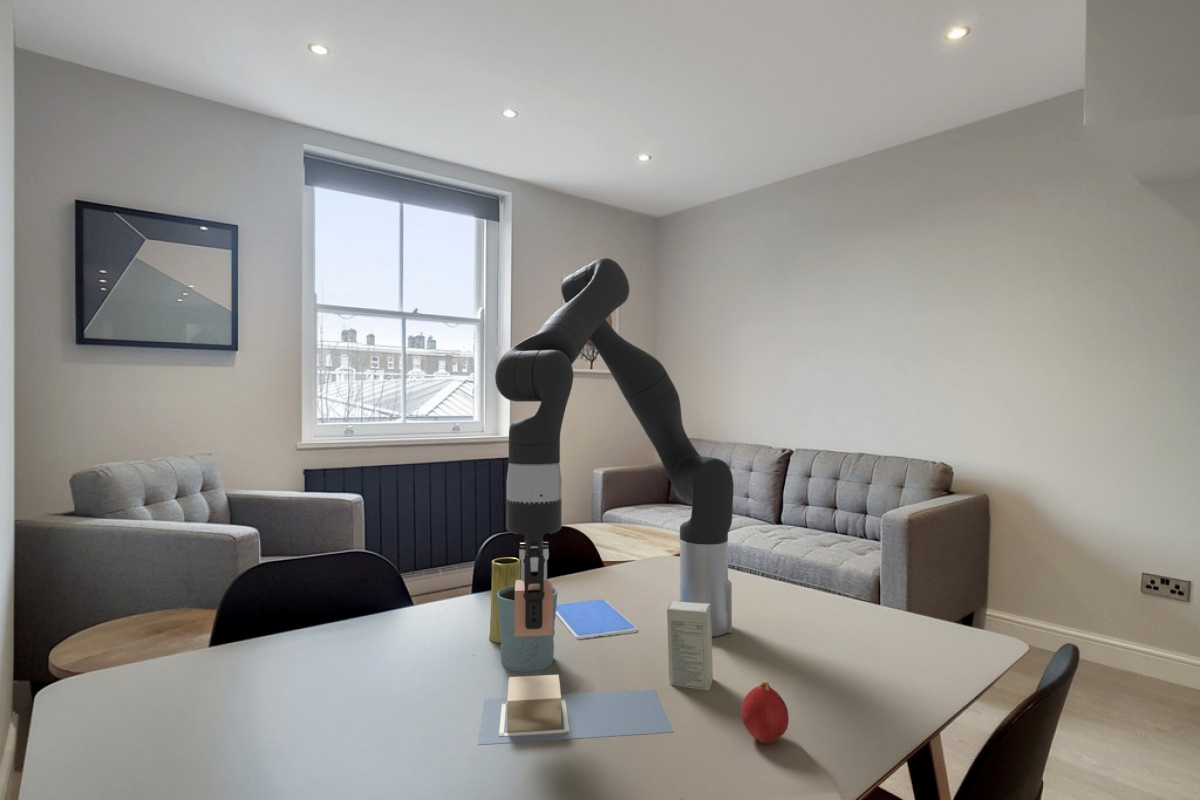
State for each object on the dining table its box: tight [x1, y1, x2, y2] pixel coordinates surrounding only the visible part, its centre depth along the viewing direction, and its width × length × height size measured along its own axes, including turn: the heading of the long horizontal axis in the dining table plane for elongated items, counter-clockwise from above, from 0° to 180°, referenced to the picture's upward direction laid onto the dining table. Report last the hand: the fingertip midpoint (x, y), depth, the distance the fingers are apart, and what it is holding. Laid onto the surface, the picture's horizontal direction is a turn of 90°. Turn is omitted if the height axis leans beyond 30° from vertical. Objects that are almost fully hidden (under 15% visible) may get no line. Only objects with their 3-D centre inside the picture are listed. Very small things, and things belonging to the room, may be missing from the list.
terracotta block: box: [515, 578, 554, 637], centre depth 82 cm, size 5×5×6 cm
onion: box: [740, 680, 790, 745], centre depth 76 cm, size 6×6×8 cm
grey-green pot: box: [497, 585, 558, 673], centre depth 100 cm, size 10×10×12 cm
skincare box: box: [666, 600, 714, 691], centre depth 92 cm, size 6×4×12 cm
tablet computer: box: [556, 598, 639, 640], centre depth 121 cm, size 19×13×1 cm, turn 20°
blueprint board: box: [477, 688, 675, 746], centre depth 82 cm, size 25×12×1 cm, turn 97°
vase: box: [488, 556, 521, 644], centre depth 112 cm, size 6×6×14 cm
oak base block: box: [506, 674, 562, 732], centre depth 81 cm, size 7×7×4 cm
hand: (533, 620), depth 82 cm, fingers closed on terracotta block, 5 cm apart
